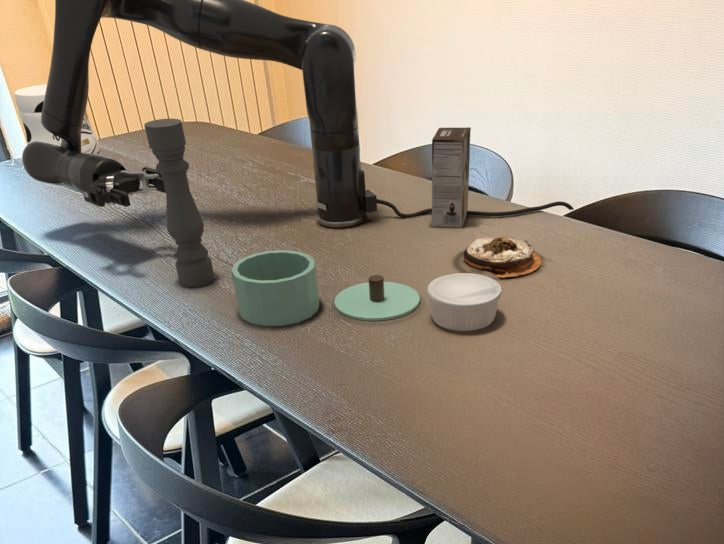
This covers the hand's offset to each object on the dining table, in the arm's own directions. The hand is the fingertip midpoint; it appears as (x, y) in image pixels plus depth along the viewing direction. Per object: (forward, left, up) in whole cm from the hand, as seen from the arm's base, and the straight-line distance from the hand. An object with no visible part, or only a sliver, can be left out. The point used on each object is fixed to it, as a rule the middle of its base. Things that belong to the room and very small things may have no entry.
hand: (149, 193), depth 122 cm
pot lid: (-29, +32, -12) cm, 45 cm away
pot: (-14, +27, -13) cm, 33 cm away
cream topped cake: (-55, +25, -13) cm, 62 cm away
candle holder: (-4, +8, -13) cm, 16 cm away
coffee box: (-57, +1, -13) cm, 59 cm away
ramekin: (-39, +43, -13) cm, 60 cm away
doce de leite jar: (+13, -81, -13) cm, 83 cm away
